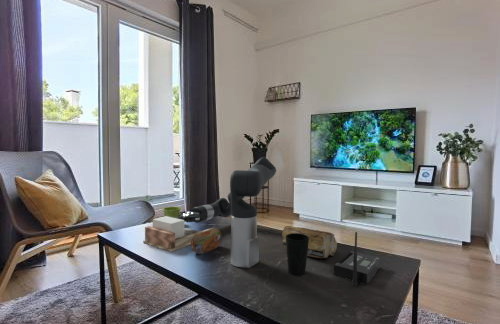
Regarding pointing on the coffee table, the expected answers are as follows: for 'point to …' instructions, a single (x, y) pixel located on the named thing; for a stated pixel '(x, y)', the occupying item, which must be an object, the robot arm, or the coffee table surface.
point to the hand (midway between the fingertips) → (174, 220)
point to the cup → (297, 253)
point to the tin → (206, 240)
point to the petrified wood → (314, 241)
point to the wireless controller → (357, 266)
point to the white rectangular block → (170, 225)
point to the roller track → (178, 243)
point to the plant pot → (171, 211)
